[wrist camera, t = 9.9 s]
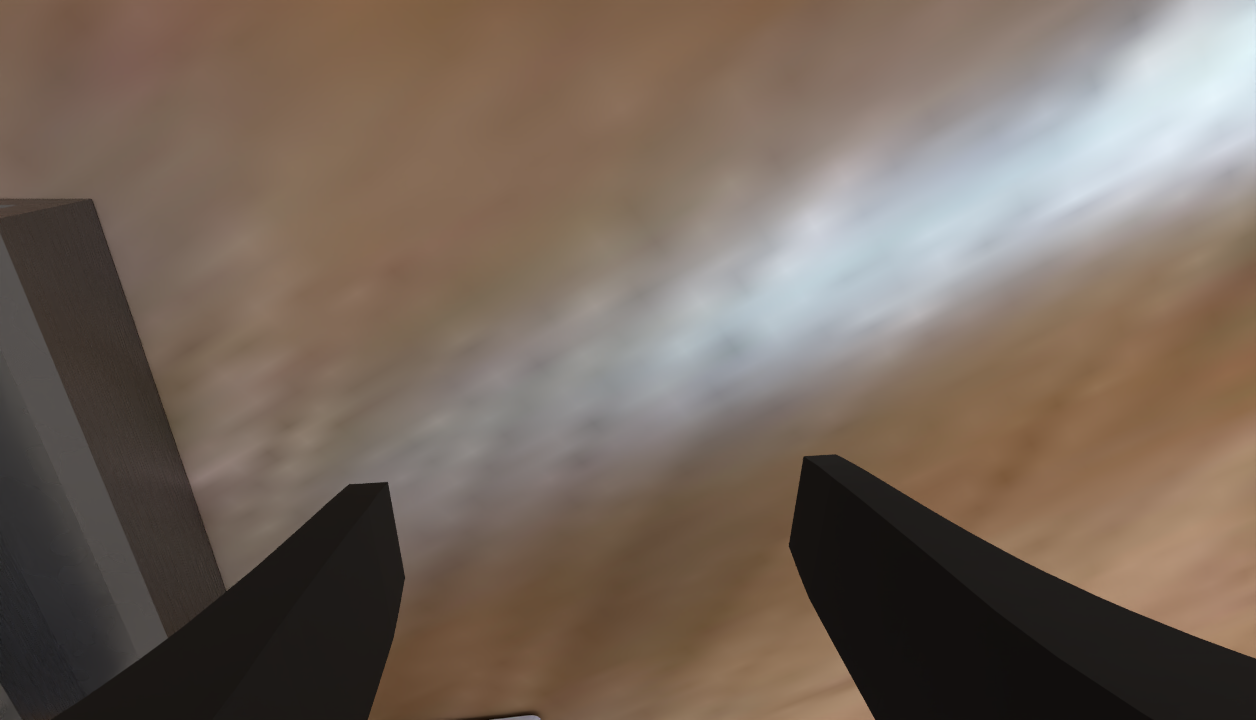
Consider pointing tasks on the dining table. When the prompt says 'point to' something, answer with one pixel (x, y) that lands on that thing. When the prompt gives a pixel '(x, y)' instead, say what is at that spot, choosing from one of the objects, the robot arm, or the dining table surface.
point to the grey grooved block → (83, 472)
